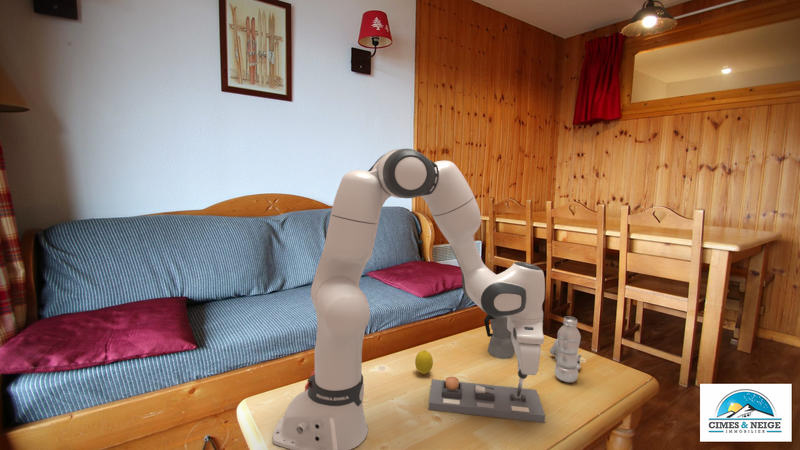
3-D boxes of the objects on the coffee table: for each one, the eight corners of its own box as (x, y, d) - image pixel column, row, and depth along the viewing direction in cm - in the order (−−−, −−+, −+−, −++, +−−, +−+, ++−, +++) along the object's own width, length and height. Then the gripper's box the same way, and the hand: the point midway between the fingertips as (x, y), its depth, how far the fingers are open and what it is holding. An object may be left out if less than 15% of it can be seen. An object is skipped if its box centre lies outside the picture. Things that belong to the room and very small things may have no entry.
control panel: (428, 409, 103) (428, 397, 103) (431, 385, 115) (432, 374, 114) (544, 422, 99) (545, 409, 98) (535, 396, 110) (536, 384, 110)
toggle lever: (513, 401, 105) (518, 374, 98) (512, 393, 107) (517, 366, 100) (522, 402, 104) (528, 375, 98) (521, 394, 106) (527, 367, 100)
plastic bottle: (573, 388, 115) (578, 324, 112) (550, 379, 119) (555, 318, 117) (580, 379, 120) (585, 318, 117) (558, 372, 124) (563, 313, 121)
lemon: (431, 379, 118) (432, 355, 117) (413, 377, 119) (414, 353, 118) (433, 370, 123) (434, 347, 122) (416, 368, 124) (417, 345, 123)
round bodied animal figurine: (564, 378, 125) (573, 361, 121) (545, 350, 135) (552, 332, 131) (584, 376, 127) (592, 358, 122) (563, 348, 137) (571, 331, 133)
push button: (445, 389, 106) (445, 382, 106) (445, 382, 110) (446, 375, 109) (458, 390, 106) (458, 384, 105) (458, 383, 109) (458, 377, 109)
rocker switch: (475, 392, 106) (476, 388, 106) (475, 388, 108) (475, 385, 108) (493, 397, 105) (494, 393, 105) (492, 392, 107) (493, 389, 107)
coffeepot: (503, 343, 144) (506, 297, 142) (523, 353, 136) (527, 305, 134) (473, 353, 136) (475, 304, 133) (492, 364, 128) (495, 313, 126)
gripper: (507, 308, 111) (504, 353, 113) (518, 339, 91) (514, 393, 93) (529, 310, 110) (527, 355, 112) (545, 341, 90) (542, 395, 92)
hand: (521, 373), depth 102 cm, fingers closed
